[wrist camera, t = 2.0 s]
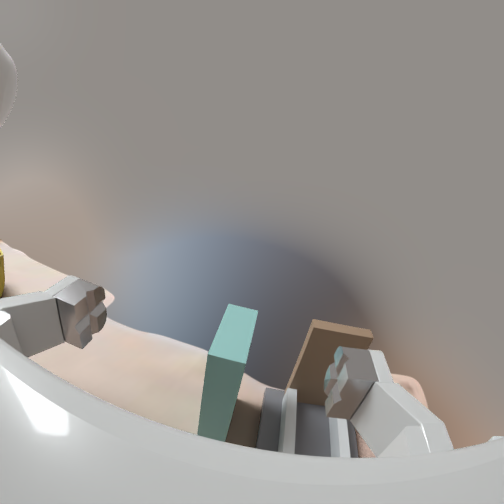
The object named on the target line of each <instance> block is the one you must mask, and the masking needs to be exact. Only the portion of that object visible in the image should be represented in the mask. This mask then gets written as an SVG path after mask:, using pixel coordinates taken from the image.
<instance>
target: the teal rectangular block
mask: <svg viewBox="0 0 504 504" xmlns="http://www.w3.org/2000/svg"><path fill="white" fill-rule="evenodd" d="M257 313H258V311H256V310H252V309H248V308H244V307H239V306H236V305H231V304H229V305H228V307H227V309H226V312H225V314H224V316H223V319H222V321H221V324H220V326H219V328H218V331H217V333H216V336H215V338H214V340H213V343H212V345H211V348H210V350H209V352H208V356H207V363H206V371H205V378H204V386H203V393H202V401H201V409H200V418H199V426H198V435H199V436H203V437H207V438H210V439H214V440H218V441H223V442H225V440H226V436H227V432H228V429H229V425H230V421H231V418H232V414H233V410H234V407H235V403H236V399H237V395H238V392H239V388H240V384H241V380H242V376H243V373H244V369H245V366H246V362H247V358H248V354H249V350H250V346H251V339H252V335H253V331H254V326H255V322H256V318H257Z"/></svg>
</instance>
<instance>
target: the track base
mask: <svg viewBox="0 0 504 504" xmlns="http://www.w3.org/2000/svg"><path fill="white" fill-rule="evenodd" d="M372 340H373V336H372V333H371V330H368V329H362V328H357V327H351V326H346V325H341V324H335V323H330V322H325V321H320V320H315V319H313V320H312V324H311V326H310V328H309V331H308V334H307V337H306V339H305V342H304V344H303V347H302V350H301V352H300V355H299V357H298V360H297V362H296V365H295V367H294V370H293V372H292V375H291V377H290V380H289V382H288V385H287V387H286V389H285V391H281V390H276V389H271V388H266V390H265V392H264V398H263V405H262V411H261V418H260V424H259V430H258V436H257V443H256V449H262V450H268V451H275V452H282V453H290V454H299V455H309V456H322V457H341V458H358V450H357V442H356V434H355V427H354V426H353V424H352V423H351V421H350V420H349V419H339V418H330V417H326V410H325V401H326V399H327V397H328V396H327V395H326V393H325V392H324V380H325V376H326V372H327V370H328V367H329V365H331V364H332V363H334V362H335V360H334V354H335V352H336V350H337V348H338V347H339V346H342V347H349V348H357V349H364V350H368V348H369V346H370V344H371V342H372Z"/></svg>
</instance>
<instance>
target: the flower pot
mask: <svg viewBox="0 0 504 504" xmlns="http://www.w3.org/2000/svg"><path fill="white" fill-rule="evenodd" d="M4 283H5V275H4V258H3V253H2V251H1V249H0V297H1V296H2V293H3V289H4Z"/></svg>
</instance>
